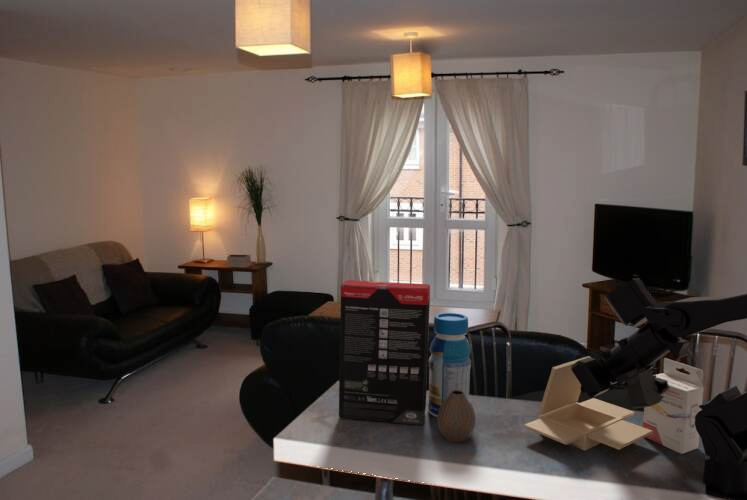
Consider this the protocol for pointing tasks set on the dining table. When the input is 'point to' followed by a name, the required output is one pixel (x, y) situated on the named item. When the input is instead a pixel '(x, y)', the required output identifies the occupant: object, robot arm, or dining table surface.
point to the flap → (561, 388)
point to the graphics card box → (384, 351)
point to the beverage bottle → (448, 359)
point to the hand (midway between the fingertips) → (582, 390)
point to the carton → (589, 425)
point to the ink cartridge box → (676, 408)
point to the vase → (456, 417)
